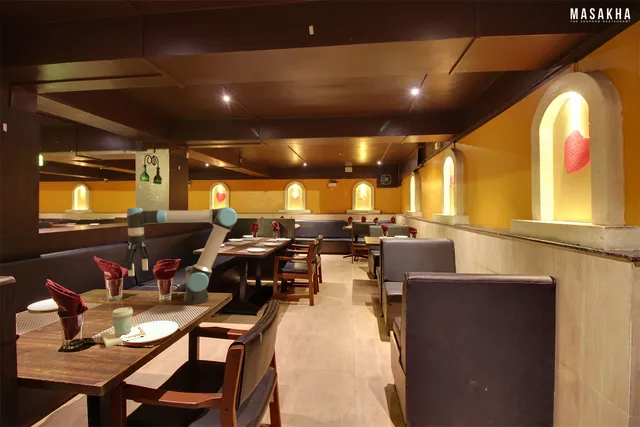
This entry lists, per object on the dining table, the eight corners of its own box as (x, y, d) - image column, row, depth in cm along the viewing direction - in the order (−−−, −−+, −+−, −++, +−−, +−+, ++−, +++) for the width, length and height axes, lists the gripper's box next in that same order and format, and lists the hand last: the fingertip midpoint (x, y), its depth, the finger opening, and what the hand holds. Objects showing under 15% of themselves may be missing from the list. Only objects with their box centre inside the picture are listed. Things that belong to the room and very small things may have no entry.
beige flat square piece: (137, 327, 146) (137, 323, 146) (145, 336, 135) (145, 332, 135) (100, 337, 135) (100, 333, 135) (106, 347, 125) (106, 343, 125)
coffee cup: (122, 339, 130) (121, 313, 130) (107, 338, 132) (106, 312, 132) (138, 331, 139) (137, 307, 138) (123, 330, 140) (122, 306, 140)
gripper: (141, 233, 172) (144, 268, 173) (114, 238, 147) (117, 278, 148) (154, 232, 173) (156, 267, 173) (129, 237, 148) (132, 278, 149)
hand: (138, 272), depth 161 cm, fingers open, 13 cm apart
